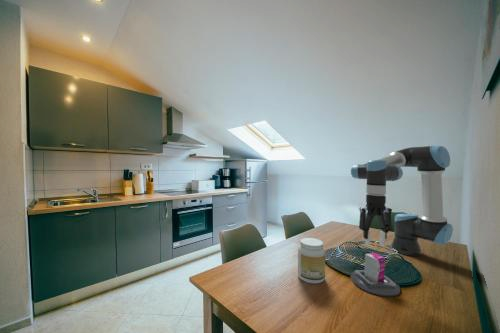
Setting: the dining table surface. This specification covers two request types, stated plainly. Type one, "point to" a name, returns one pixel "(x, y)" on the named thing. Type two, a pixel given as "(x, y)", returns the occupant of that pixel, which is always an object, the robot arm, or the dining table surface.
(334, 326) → the dining table surface
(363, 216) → the robot arm
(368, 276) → the supplement box
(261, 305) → the dining table surface
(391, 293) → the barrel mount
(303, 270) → the supplement tub
